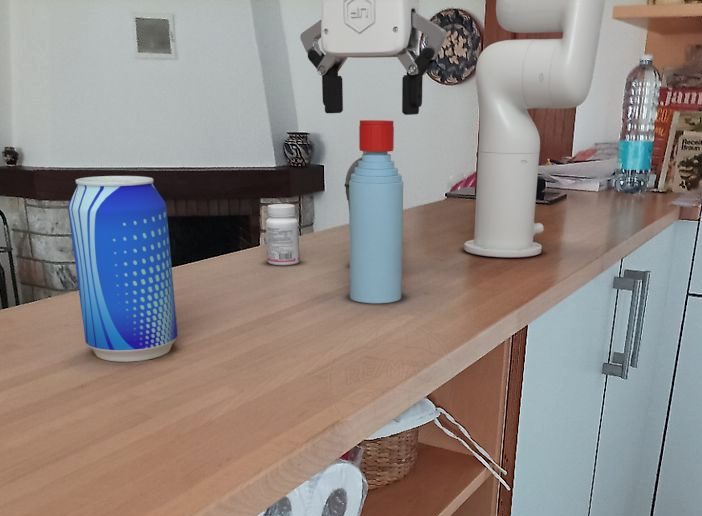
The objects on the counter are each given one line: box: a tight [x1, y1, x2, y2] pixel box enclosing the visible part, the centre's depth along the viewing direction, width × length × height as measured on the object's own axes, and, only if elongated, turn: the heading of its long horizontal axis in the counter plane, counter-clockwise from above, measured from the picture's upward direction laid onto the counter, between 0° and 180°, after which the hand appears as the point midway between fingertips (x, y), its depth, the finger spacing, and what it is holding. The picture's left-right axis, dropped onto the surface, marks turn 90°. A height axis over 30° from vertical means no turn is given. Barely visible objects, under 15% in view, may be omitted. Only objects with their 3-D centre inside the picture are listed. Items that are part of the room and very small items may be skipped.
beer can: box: [67, 175, 179, 363], centre depth 72 cm, size 8×8×16 cm
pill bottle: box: [265, 203, 301, 266], centre depth 115 cm, size 5×5×8 cm
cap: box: [358, 119, 395, 152], centre depth 90 cm, size 4×4×3 cm
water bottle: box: [348, 151, 404, 304], centre depth 93 cm, size 6×6×20 cm
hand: (371, 113), depth 88 cm, fingers open, 9 cm apart
